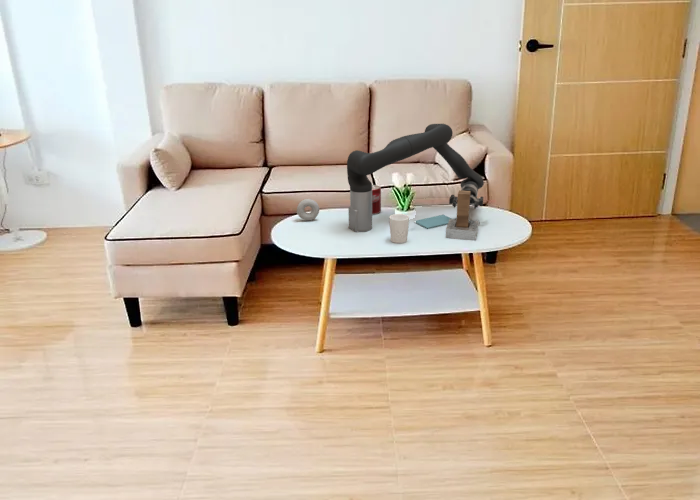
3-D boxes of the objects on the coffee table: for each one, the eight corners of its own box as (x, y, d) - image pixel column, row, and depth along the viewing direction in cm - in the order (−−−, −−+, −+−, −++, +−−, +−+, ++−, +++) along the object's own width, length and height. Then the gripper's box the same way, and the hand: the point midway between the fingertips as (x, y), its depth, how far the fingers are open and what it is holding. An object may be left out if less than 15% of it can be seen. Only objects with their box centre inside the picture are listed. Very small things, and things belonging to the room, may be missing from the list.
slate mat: (427, 229, 265) (427, 227, 265) (413, 222, 273) (413, 221, 273) (457, 222, 272) (457, 220, 272) (443, 215, 281) (443, 214, 280)
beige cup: (386, 242, 253) (386, 219, 249) (392, 235, 259) (393, 212, 255) (405, 244, 250) (405, 221, 246) (411, 238, 256) (411, 215, 253)
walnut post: (467, 236, 257) (469, 194, 250) (455, 235, 258) (457, 193, 251) (468, 232, 261) (470, 191, 254) (457, 231, 262) (459, 190, 255)
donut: (319, 218, 280) (318, 197, 277) (320, 220, 277) (319, 199, 273) (297, 219, 279) (295, 198, 275) (297, 222, 276) (296, 200, 272)
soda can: (379, 215, 283) (379, 189, 278) (363, 214, 284) (363, 189, 280) (382, 210, 289) (382, 185, 285) (366, 209, 291) (366, 184, 286)
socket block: (475, 240, 253) (475, 231, 251) (445, 237, 256) (446, 228, 254) (477, 229, 263) (478, 221, 262) (449, 227, 266) (449, 218, 265)
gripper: (452, 185, 277) (448, 196, 263) (485, 187, 274) (482, 198, 259) (452, 201, 280) (447, 212, 266) (484, 203, 276) (481, 215, 262)
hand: (464, 205), depth 262 cm, fingers open, 8 cm apart
